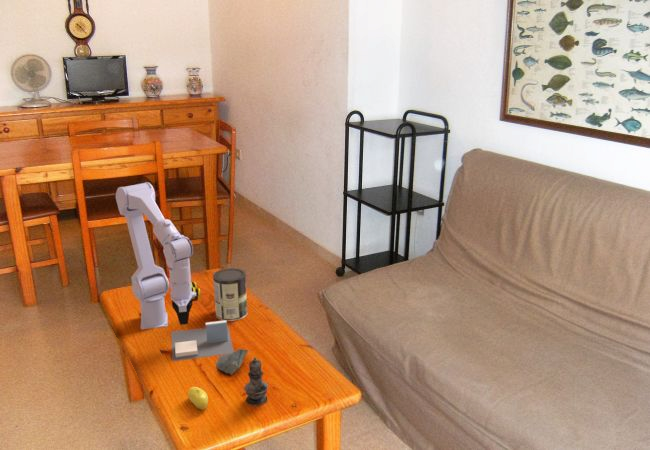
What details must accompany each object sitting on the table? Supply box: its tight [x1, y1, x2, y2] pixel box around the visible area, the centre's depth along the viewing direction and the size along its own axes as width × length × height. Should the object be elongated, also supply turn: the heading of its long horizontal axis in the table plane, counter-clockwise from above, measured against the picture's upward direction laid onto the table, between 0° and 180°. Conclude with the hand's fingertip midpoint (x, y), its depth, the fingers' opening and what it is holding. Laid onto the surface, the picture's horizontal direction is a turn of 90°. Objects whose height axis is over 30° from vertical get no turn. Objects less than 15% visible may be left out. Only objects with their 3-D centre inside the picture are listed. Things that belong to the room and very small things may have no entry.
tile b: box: [205, 320, 228, 344], centre depth 175 cm, size 2×6×6 cm, turn 104°
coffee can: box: [212, 267, 248, 322], centre depth 191 cm, size 10×10×14 cm
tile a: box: [175, 340, 198, 358], centre depth 170 cm, size 2×6×6 cm
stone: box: [215, 348, 249, 376], centre depth 162 cm, size 11×4×10 cm
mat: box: [170, 324, 234, 362], centre depth 175 cm, size 17×17×1 cm
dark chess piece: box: [243, 357, 269, 407], centre depth 147 cm, size 6×6×12 cm
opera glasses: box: [191, 281, 201, 300], centre depth 206 cm, size 10×5×5 cm, turn 26°
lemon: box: [187, 386, 209, 410], centre depth 147 cm, size 4×8×4 cm, turn 29°
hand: (183, 323), depth 172 cm, fingers closed
